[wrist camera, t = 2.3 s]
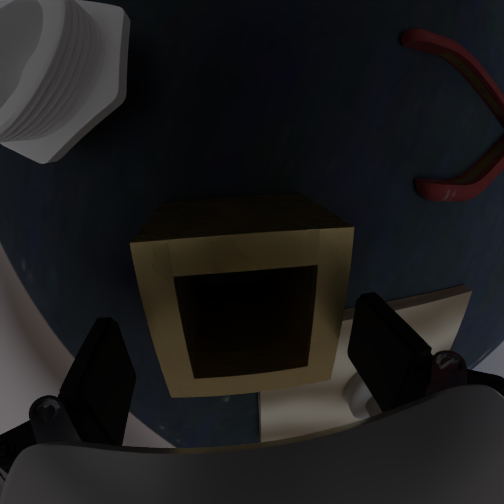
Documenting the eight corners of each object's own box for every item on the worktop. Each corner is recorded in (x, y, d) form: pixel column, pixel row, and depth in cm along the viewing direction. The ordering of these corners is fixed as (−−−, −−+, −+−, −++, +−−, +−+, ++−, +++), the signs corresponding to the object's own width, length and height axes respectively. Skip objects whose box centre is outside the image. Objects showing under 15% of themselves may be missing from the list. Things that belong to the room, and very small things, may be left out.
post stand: (256, 320, 17) (291, 456, 8) (463, 284, 19) (534, 342, 10) (259, 435, 22) (276, 519, 13) (418, 393, 24) (456, 450, 15)
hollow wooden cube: (162, 202, 13) (129, 242, 8) (301, 193, 14) (354, 227, 9) (181, 319, 16) (171, 397, 10) (296, 309, 17) (330, 379, 11)
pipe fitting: (152, 19, 10) (106, -69, 2) (151, 146, 12) (74, 151, 5) (49, 48, 9) (-40, 13, 1) (46, 165, 12) (-60, 197, 4)
